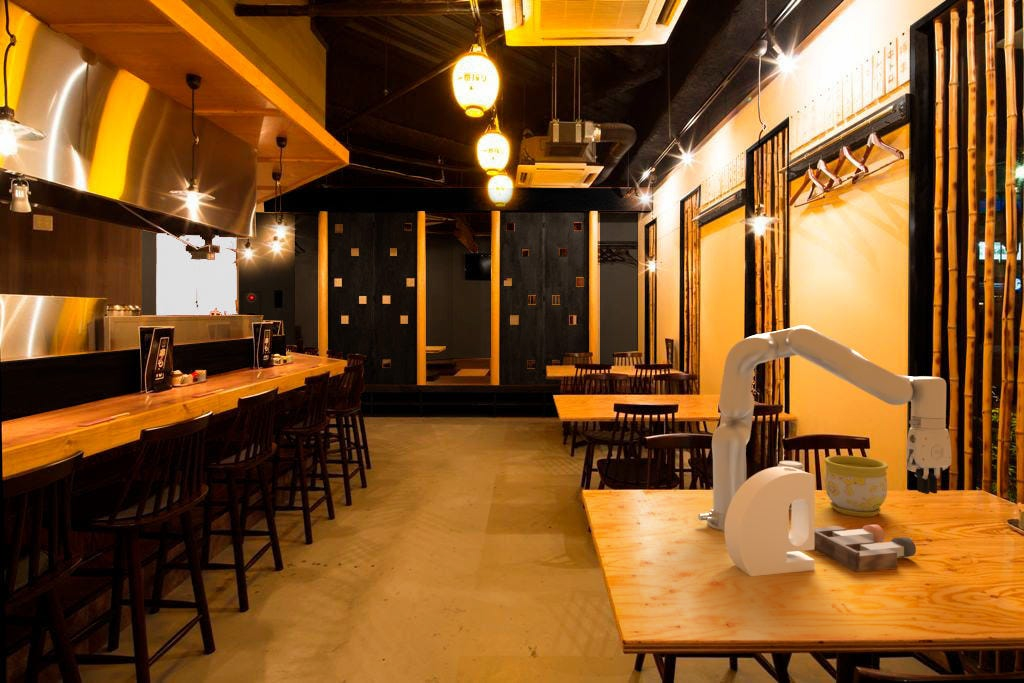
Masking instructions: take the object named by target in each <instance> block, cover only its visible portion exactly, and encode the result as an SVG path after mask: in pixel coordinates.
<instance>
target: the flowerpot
mask: <svg viewBox="0 0 1024 683" xmlns="http://www.w3.org/2000/svg"><path fill="white" fill-rule="evenodd" d="M824 463H825V464H826V466H825V475H824V488H825V492H826V495H827V496H828V498H829V500H830V501H831V502H830V506H831V507H832V508H833V509H834V510H835V511H836V512H839V513H840V514H844V515H847V516H853V517H859V518H860V517H861V518H862V517H863V518H864V517H865V518H867V517H869V518H870V517H875V516H877V515H878V514H879V513H880V512H881V511H882V510H881V508H880V507H881V506H882V505H883V504H884V502H885V501H886V498H887V495H888V480H887V469H889V464H887V463H886V462H885V461H883V460H879V459H876V458H870V457H864V456H859V455H858V456H857V455H830V456H827V457H825V458H824Z"/></svg>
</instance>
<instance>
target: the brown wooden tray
mask: <svg viewBox="0 0 1024 683" xmlns="http://www.w3.org/2000/svg"><path fill="white" fill-rule="evenodd" d="M845 530H847V528H844V527H842V526H840V525H832V526H820V527H819V526H818V527H815V536H814V551H815V552H818V553H819V554H821V555H823V556H825V557H826V558H829V559H830V560H832V561H834V562H836V563H838V564H840V565H841V566H843V567H845V568H847V569H849V570H851V571H853V572H854V573H863V572H873V571H879V570H880V571H883V570H891V569H897V568H898V557H897V552H895V551H893V550H891V549H889V548H886V549H876V550H865V551H860V545H863V544H874V542H873V541H871V540H869V539H867V538H864V537H862V536H860V535H848V536H837V537H832V532H833V531H845Z"/></svg>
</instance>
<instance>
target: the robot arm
mask: <svg viewBox="0 0 1024 683" xmlns="http://www.w3.org/2000/svg"><path fill="white" fill-rule="evenodd" d="M793 356H799V357H801V358H802V359H804V360H806V361H808V362H810V363H811V364H814V365H815V366H817V367H819V368H821V369H823V370H825V371H827V372H828V373H831V374H832V375H834V376H836V377H837V378H839V379H841V380H843V381H846V382H848V383H849V384H851V385H853V386H854V387H856V388H858V389H860V390H862V391H864V392H866V393H867V394H870V395H871V396H873V397H875V398H877V399H879V400H880V401H882V402H884V403H886V404H889V405H893V406H903V405H905V404H907V403H908V402H910V403H911V404H910V407H911V408H910V420H909V424H910V427H909V430H908V434H907V438H906V439H907V440H906V446H905V447H906V449H905V452H906V453H905V457H906V463H907V464H906V470H908V471H911V472H913V474H914V476H915V477H916V478H917V479H916V490H917V492H919V493H922V494H925V495H930V493H931V494H932V493H933V494H934V495H935V494H938V479H940V477H941V474H942V472H943V471H945V470H946V469H948V468H949V466H951V465H952V445H951V438H950V432H949V429H947V428H946V427H947V424H946V423H947V422H946V419H947V415H946V414H947V412H946V411H947V382H946V380H945V379H944V378H942V377H939V376H929V375H928V376H926V375H925V376H924V375H923V376H922V375H921V376H909V375H901V374H895V373H893V372H892V371H889V370H887V369H886V368H884V367H882V366H879V365H878V364H876V363H874V362H873V361H870V360H869V359H868V358H865V357H864V356H863V355H861V354H860V353H859V352H858V351H856V350H854V349H853V348H851V347H849V346H847V345H845V344H843V343H841V342H839V341H837V340H835V339H833V338H831V337H829V336H827V335H826V334H824V333H822V332H819V331H817V330H816V329H815V328H813V327H811V326H809V325H803V324H802V325H797V326H794V327H790V328H786V329H781V330H776V331H771V332H766V333H765V332H764V333H759V334H754V335H751V336H748V337H745V338H742V339H741V340H739V341H738V342H736V343H735V344H734V345H733V346H732V347H731V348H730V349H729V351H728V353H727V355H726V357H725V358H726V359H725V362H724V368H723V374H722V380H721V386H720V394H719V398H718V409H719V411H720V422H719V426H717V428H715V430H714V432H713V434H712V438H711V439H712V440H711V451H712V475H713V476H712V481H713V483H712V484H713V485H712V492H713V493H712V495H713V496H712V499H713V500H712V506H713V507H712V509H711V508H710V509H709V511H708V512H707V513H699V514H698V515H697V516H698V517H697V518H698V520H699V521H706V522H707V524H708V526H709V527H711V528H713V529H715V530H716V531H717V530H719V531H722V532H724V527H725V518H726V514H727V510H728V507H729V505H730V502H731V500H732V498H733V497H734V495H735V493H736V492H737V490H738V489H739V488H740V487H741V486H742V484H743V483H744V482H745V481H747V456H746V452H747V449H746V448H747V444H748V442H750V438H751V434H752V432H751V431H752V425H753V417H754V409H755V397H754V395H753V393H752V385H753V380H754V370H755V368H756V367H757V365H759V364H763V363H767V362H769V361H773V360H778V359H784V358H789V357H793Z"/></svg>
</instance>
